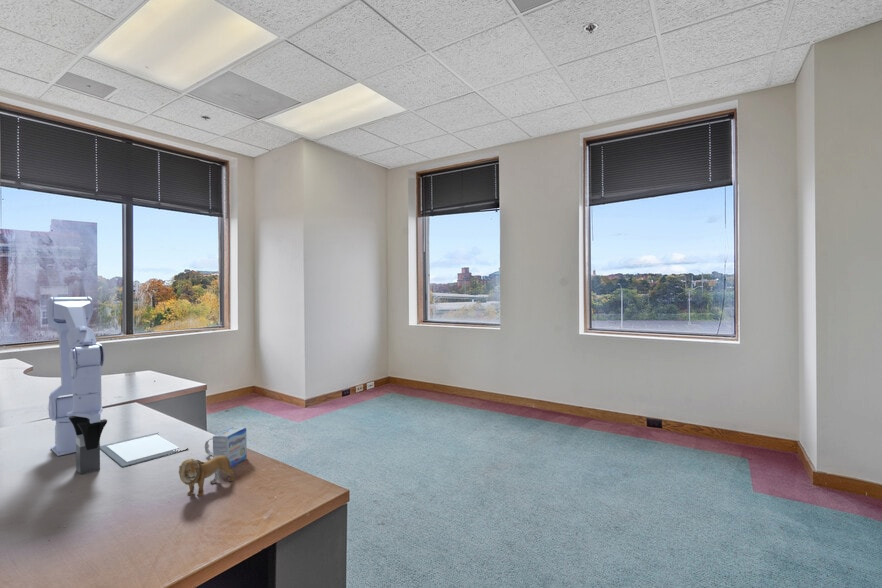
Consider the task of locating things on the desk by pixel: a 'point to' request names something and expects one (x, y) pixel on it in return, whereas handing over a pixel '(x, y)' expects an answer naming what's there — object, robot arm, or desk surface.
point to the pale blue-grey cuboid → (86, 457)
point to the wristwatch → (207, 448)
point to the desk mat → (139, 449)
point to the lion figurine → (203, 472)
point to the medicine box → (231, 445)
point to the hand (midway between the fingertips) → (88, 445)
